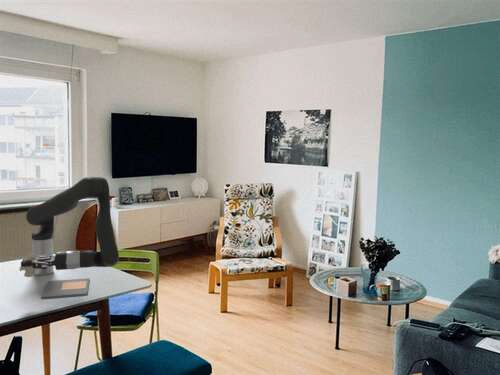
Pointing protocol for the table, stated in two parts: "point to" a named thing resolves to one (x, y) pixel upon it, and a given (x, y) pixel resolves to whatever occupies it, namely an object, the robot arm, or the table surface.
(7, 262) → the table surface
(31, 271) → the arrowhead
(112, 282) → the table surface
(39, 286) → the table surface
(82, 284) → the mat
